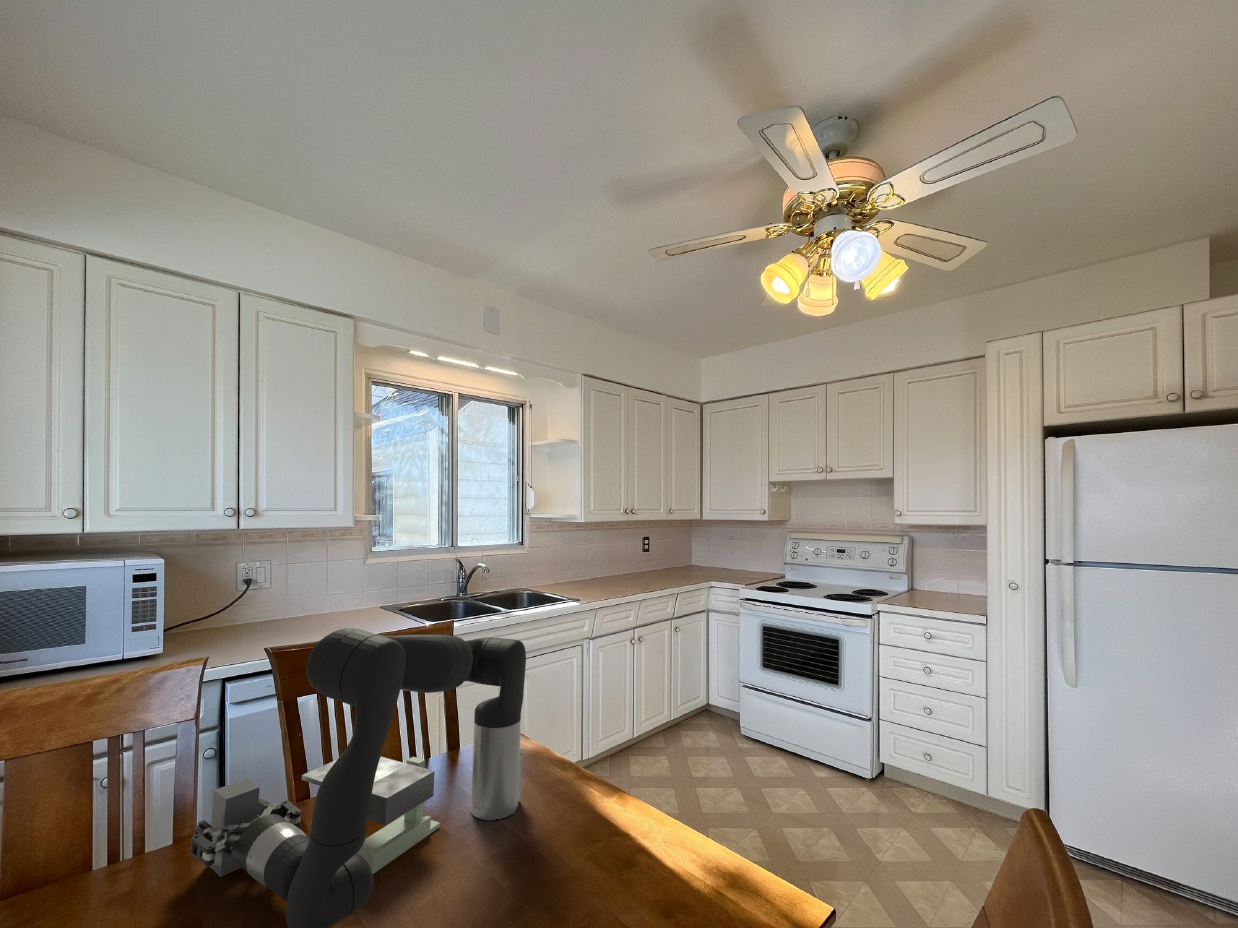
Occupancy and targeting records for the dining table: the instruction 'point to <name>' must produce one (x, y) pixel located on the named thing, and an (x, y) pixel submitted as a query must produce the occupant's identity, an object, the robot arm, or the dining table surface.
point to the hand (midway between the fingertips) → (229, 815)
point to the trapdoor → (390, 788)
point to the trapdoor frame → (398, 834)
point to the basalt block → (233, 816)
